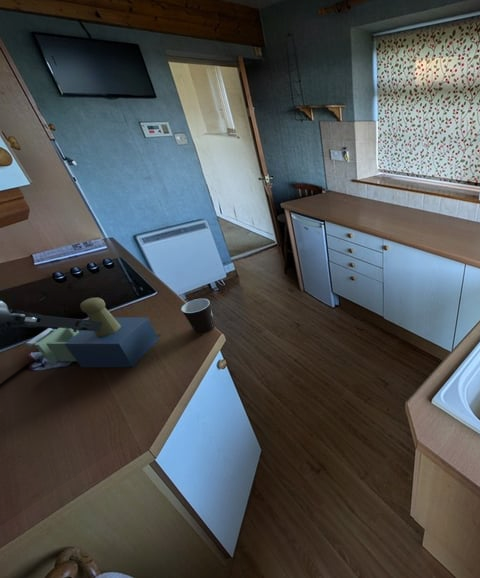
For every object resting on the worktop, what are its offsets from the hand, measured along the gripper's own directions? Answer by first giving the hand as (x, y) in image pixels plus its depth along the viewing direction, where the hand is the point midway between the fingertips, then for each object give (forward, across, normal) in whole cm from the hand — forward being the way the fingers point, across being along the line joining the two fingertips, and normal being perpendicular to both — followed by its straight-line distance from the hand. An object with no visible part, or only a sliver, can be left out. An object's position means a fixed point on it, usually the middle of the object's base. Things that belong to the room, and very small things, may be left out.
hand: (77, 325), depth 82 cm
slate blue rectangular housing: (+16, 0, -7) cm, 17 cm away
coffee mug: (+27, +19, +4) cm, 33 cm away
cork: (+9, 0, -1) cm, 9 cm away
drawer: (+14, -13, -8) cm, 20 cm away
